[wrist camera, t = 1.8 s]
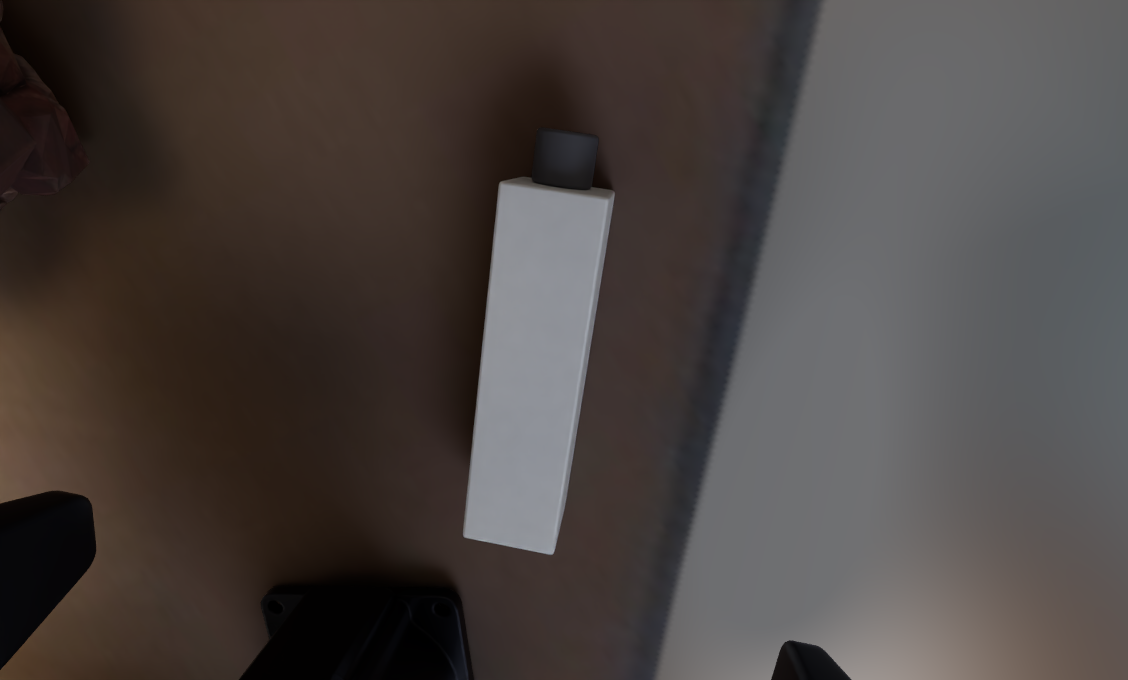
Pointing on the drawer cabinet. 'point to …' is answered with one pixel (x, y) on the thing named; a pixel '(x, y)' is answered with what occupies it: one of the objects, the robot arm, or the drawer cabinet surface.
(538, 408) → the square white bottle
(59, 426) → the drawer cabinet surface
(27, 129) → the mineral specimen
